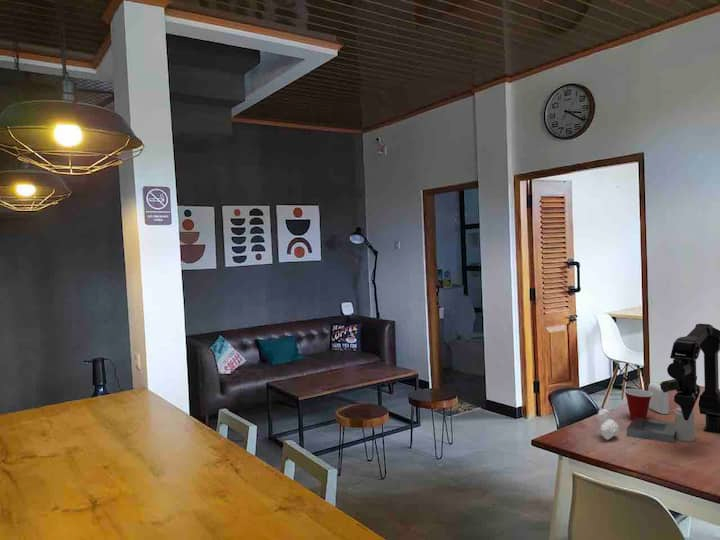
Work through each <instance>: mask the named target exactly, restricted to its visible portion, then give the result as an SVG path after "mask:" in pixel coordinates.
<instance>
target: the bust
mask: <svg viewBox="0 0 720 540" xmlns="http://www.w3.org/2000/svg"><path fill="white" fill-rule="evenodd" d="M610 415H611V413H610V412H609V410H608V409H606V408H603V409H600V410H598V411H597V415H596V420H598V421H600V428H599V429H600V433H601V436H602V437H603V438H604V439H605V440H610V439H611V438H612V437H614V436H616V435H617V434H619V431H620V428H619V425H618V423H617V422H616V421H615V420H614V419H611V418H609V416H610Z"/></svg>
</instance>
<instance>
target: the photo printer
mask: <svg viewBox="0 0 720 540" xmlns="http://www.w3.org/2000/svg"><path fill="white" fill-rule="evenodd" d="M660 383H661V382H660ZM660 383H659V382H650V383H649V384H648V388H647V391H649V392H651V393H652V394H653V395H652V396H651V399H650V402H649V407H648V409H650V410H652V411H654V412H656V413H659V414H662V415H668V414H669V413H670V405H669V403H670V401H669V399H670V398H669V391H667V392H665V393H663V391H662V389H661V386H660Z"/></svg>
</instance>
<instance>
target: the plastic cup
mask: <svg viewBox="0 0 720 540" xmlns="http://www.w3.org/2000/svg"><path fill="white" fill-rule="evenodd" d="M624 393H625V396H626V401H627V407H628V411H629V412H628V413H629V417H630V419H631V421H633V419H634V418H635V417H637V418H644V419H648V418H647V417H648V416H647V415H648V412H649V402H650V399H651V396H652V395H653V394H652V393H651V392H649V391H648V390H646V389H645V390H644V389H641V388H625V389H624Z"/></svg>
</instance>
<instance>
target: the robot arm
mask: <svg viewBox="0 0 720 540" xmlns="http://www.w3.org/2000/svg"><path fill="white" fill-rule="evenodd" d="M701 351H702V353H703V367H704V368H703V369H704V371H703V373H704V374H703V375H704V378H703V379H704V390H703V392H701V386H700V385H699V384H698V383H697V380H698V376H697V359H699V355H700V352H701ZM719 352H720V330H719V329H718V328H716V327H714V326H713V324H709V323H696V324H695V327H694V328H693V329H692V330H691V331H690V332H689V333H688V334H687V335H686V336H685V335H684V336H680V337H678V338H676V339H675V340H674V341H673V345H672V349H671V353H670V357H669V358H670V359H672V363H671V362H670V363H669V365H668V366H667V368H666V370H667V371H666V372H667V374H668V376H670V377H671V378H672V379H668V380H663V381H661V382H660V386H661V389H662V391H663V393H665V392H667V391H668V392H672V391H676V393H675V394H674V396H673V402H674V403H675V404H676V405H678V406H679V407H681V410H682V414H683V417H684V420H688V419H689V417H690V414H691V412H692V410H693V411H694V407H695V406H696V403H697V401H698V409H699V410H698V411H699V414H700V415H705V416H704V417H705V419H704V420H705V425H704V427H703V431H704V432H710V433H715V432H716V434H720V389H719ZM700 393H701V394H700ZM698 398H699V399H698Z"/></svg>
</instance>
